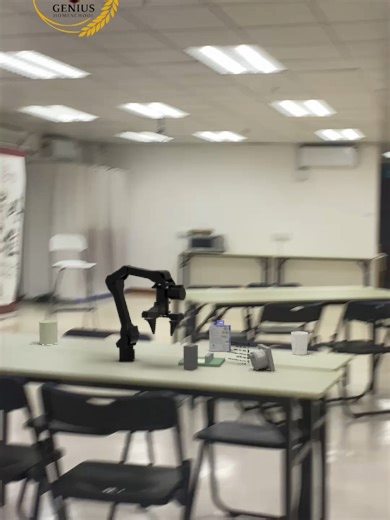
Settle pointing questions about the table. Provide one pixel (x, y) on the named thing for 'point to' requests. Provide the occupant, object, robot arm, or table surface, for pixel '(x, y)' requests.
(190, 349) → the grey square pillar
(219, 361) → the board
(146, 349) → the table surface
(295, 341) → the white cup
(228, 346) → the ink cartridge box
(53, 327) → the can
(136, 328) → the robot arm
